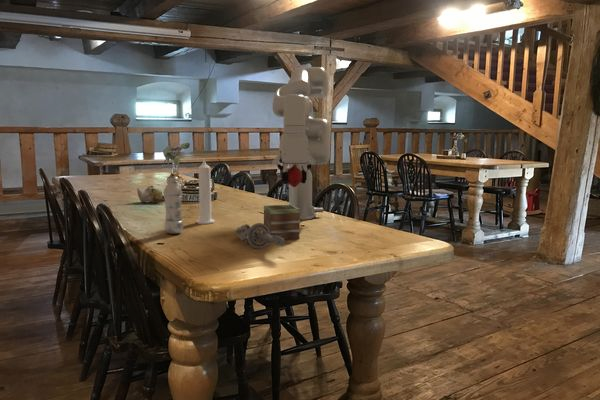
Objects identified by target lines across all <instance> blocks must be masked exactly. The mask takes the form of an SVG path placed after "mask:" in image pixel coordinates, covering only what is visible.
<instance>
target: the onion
mask: <svg viewBox="0 0 600 400" xmlns="http://www.w3.org/2000/svg"><path fill="white" fill-rule="evenodd" d="M296 166H297V165H296V164H294V165H293V166H292V167H291V168H290V169H289V168H288V169H287V170H286V172H287V184H288V185H289V184H290V185H291V186H292V187H296V186H297V185H298V184H299V183H300V182H301V181H302V178H303V175H302V172H301V171H300V169H298V168H297V167H296Z"/></svg>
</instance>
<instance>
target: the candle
mask: <svg viewBox="0 0 600 400" xmlns="http://www.w3.org/2000/svg"><path fill="white" fill-rule="evenodd" d="M211 174H212V173H211V166H209V165H208V164H207V163H206V159H205V158H203V160H202V163H201V165H199V166H198V200H199V201H198V202H199V219H197V220H196V223H197V224H200V225H210V224H214V223H215V222H216V220H215V219H214V218H212V190H211V189H212V187H211V185H212V184H211V180H212V179H211Z"/></svg>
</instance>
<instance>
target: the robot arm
mask: <svg viewBox="0 0 600 400" xmlns="http://www.w3.org/2000/svg"><path fill="white" fill-rule="evenodd" d="M290 74H291V75H290V79H289V80H288V81H287V83H286V84H283V85H282V86H280V87H278V89H276V91H275V93H274V94H273V95H274V96H273V99H272V112H273V114H274V115H275V116H276V117H279V118H283V134H281V135H280V139H279V148H278V154H277V156H276V157H275V158H274V159H273V160H272V164H274V165H275V166H276V168H277V169H278V170H279V171H280V172H281V182H282V184H285V185H288V205H293V206H295V207H297V208H299V209H300V221H302V220H304V221H306V220H313V219H315V218H316V213H323V212H324V208H323V207H315V206H313V173H312V171H311V170H310V169H311V168H312V166H313V165H326V164H328V163H329V162H330V158H331V124H330V122H329V120H328V119H326V118H320V117H319V118H318V117H317V118H314V110H313V109H314V106H313V105H314V104H313V101H312V100H311V99H324V98H326V97H327V96H328V93H329V87H330V85H329V77H328V72H327V70H326V69H325V68H324V67H321V66H300V67H297V68H295V69H294V70H293V71H292V72H291V73H290ZM280 163H281V164H280ZM294 164H296V165H297V166H296V167H297V168H298V169H300V171H301V172H302V175H303V178H302V181H301V182H300V183H299V184H298V185H297V186H296V187H292V186H291V185H290V184H289V183H288V182H287V171H288V170H289V169H290V168H291V167H292V166H293V165H294Z"/></svg>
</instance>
